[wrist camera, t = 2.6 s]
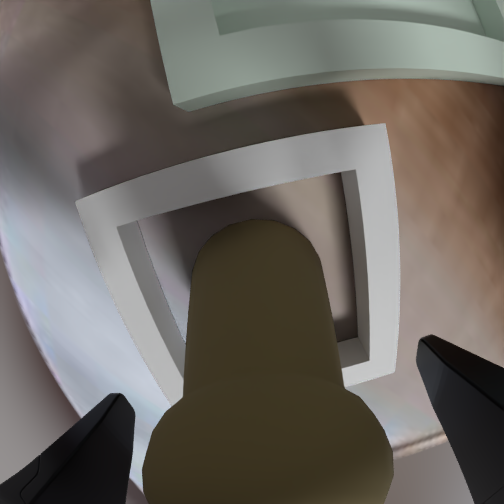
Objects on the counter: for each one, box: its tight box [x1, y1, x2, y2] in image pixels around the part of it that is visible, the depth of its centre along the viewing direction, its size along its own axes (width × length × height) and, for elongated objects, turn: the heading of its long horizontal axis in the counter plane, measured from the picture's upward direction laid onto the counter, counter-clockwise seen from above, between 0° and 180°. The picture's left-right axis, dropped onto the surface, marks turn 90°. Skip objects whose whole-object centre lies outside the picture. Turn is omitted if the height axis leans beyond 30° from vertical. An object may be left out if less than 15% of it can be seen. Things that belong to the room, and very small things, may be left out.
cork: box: [142, 219, 394, 504], centre depth 8 cm, size 6×6×11 cm
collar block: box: [75, 123, 400, 406], centre depth 12 cm, size 12×12×2 cm
